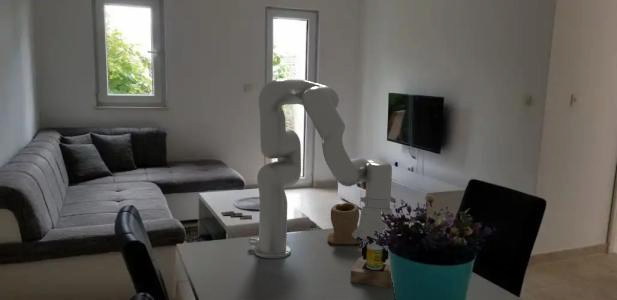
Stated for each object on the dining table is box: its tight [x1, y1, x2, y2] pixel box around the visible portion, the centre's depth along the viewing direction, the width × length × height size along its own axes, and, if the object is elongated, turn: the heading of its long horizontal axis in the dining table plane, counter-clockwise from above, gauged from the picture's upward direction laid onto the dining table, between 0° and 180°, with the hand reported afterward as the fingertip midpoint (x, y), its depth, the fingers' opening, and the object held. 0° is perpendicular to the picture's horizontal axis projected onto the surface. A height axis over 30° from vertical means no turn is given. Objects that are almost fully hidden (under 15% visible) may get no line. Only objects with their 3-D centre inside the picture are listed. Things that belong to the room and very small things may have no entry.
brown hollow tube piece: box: [327, 202, 360, 245], centre depth 184 cm, size 15×12×15 cm
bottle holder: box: [350, 257, 393, 289], centre depth 154 cm, size 12×12×4 cm
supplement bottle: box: [366, 242, 384, 270], centre depth 153 cm, size 5×5×10 cm
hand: (374, 259), depth 154 cm, fingers closed on supplement bottle, 5 cm apart
